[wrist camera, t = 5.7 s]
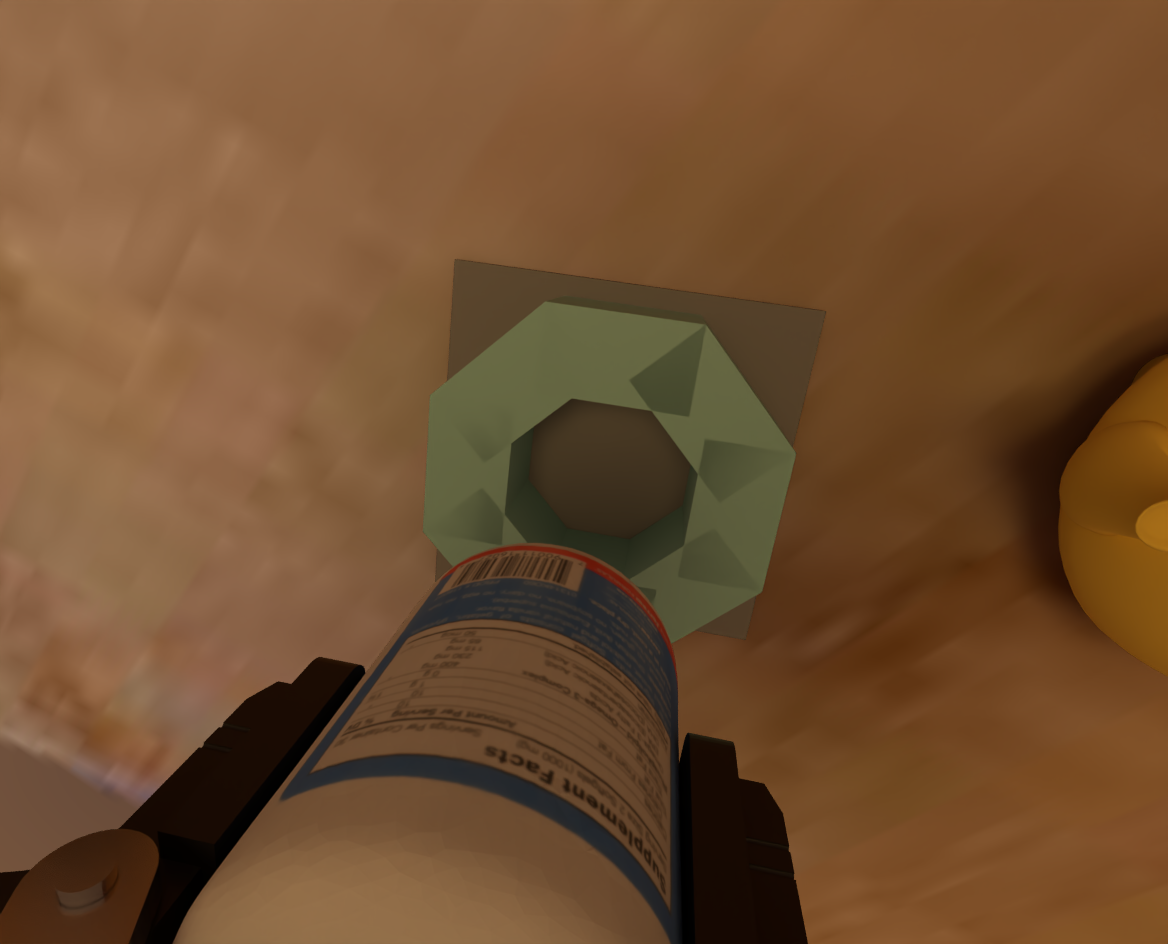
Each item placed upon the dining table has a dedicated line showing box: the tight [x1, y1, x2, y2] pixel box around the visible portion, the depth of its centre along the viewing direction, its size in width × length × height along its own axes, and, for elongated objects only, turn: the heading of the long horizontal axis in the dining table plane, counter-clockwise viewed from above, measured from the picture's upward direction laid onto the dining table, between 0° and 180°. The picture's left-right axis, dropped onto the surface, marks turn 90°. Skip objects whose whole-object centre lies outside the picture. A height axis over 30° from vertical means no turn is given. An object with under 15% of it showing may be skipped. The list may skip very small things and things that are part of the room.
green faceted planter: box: [423, 296, 796, 644], centre depth 24 cm, size 12×12×4 cm
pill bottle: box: [173, 543, 683, 944], centre depth 8 cm, size 6×5×10 cm
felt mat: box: [435, 259, 826, 640], centre depth 26 cm, size 14×14×1 cm
